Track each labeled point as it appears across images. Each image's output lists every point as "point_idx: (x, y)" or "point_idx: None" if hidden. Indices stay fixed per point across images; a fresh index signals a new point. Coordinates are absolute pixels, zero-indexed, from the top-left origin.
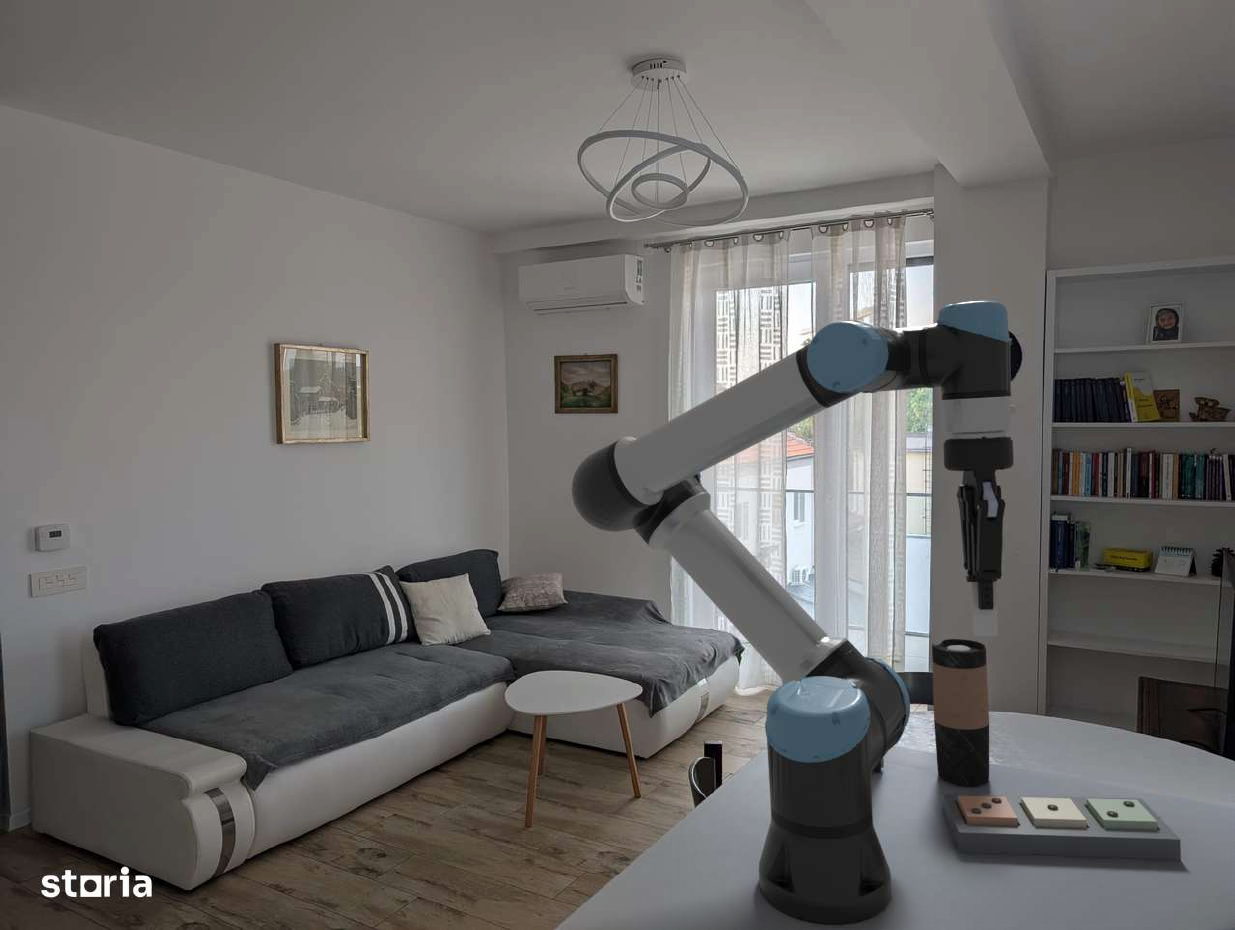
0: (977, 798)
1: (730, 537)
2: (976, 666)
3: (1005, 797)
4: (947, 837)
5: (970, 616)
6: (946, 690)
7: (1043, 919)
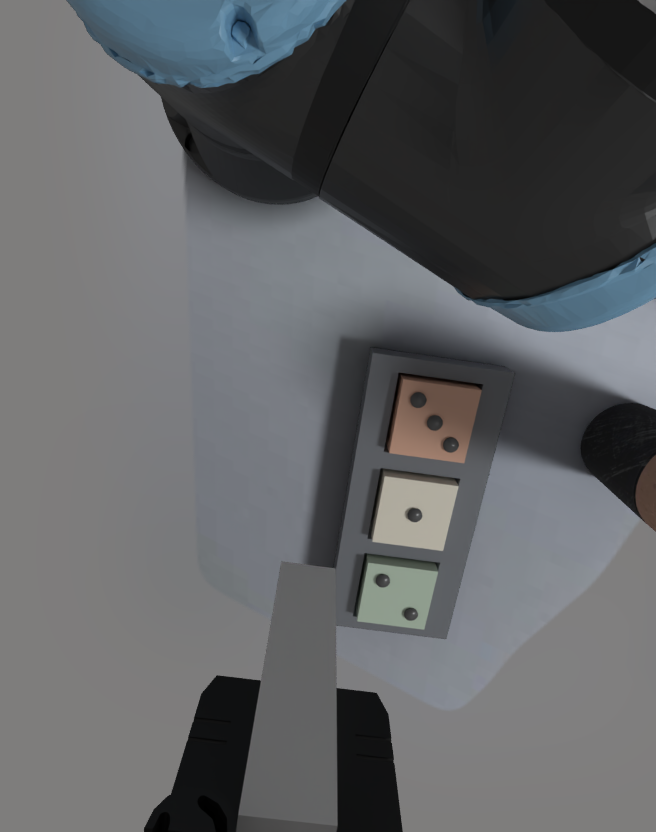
0: (465, 418)
1: None
2: None
3: (481, 467)
4: (417, 344)
5: (329, 619)
6: None
7: (193, 391)
